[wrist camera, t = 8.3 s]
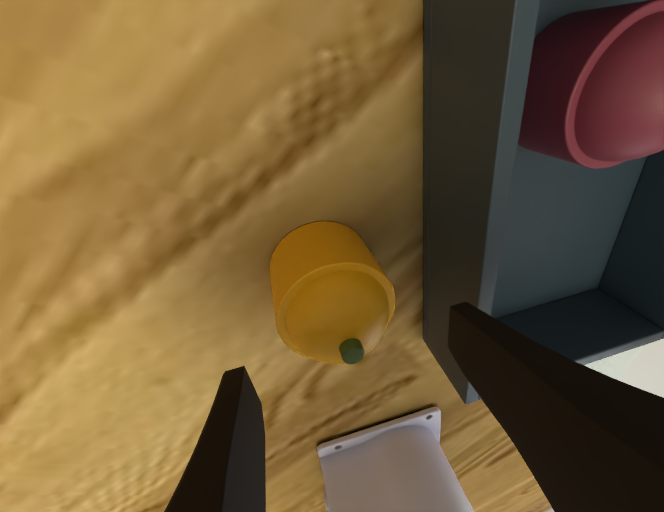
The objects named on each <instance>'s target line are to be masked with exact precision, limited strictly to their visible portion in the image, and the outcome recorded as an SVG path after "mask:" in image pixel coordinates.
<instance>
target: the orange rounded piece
mask: <svg viewBox="0 0 664 512" xmlns="http://www.w3.org/2000/svg"><path fill="white" fill-rule="evenodd" d="M270 280H271V288H272V296H273V304H274V312H275V320H276V326H277V331H278V333H279V335H280V337H281V339H282V340H283V342H284V343H285V344H286V345H287V346H288V347H289V348H290V349H292V350H293V351H295V352H297V353H298V354H301V355H303V356H306V357H310V358H312V359H314V360H317V361H319V362H323V363H327V364H345V363H347V364H355V363H357V362H359V361H361V360H362V359H363V357H364V356H365V355H367V354H368V353H369V352H370V351H372V350H373V349H374V348H375V347H376V345H377V344H378V343H379V341H380V340H381V338H382V337H383V335H384V333H385V330H386V328H387V326H388V325H389V323H390V321H391V319H392V317H393V314H394V311H395V305H396V297H395V291H394V288H393V286H392V284H391V282H390V280H389V279H388V277H387V276H386V274H385V273H384V271H383V270H382V268H381V267H380V265H379V264H378V262H377V261H376V259H375V258H374V257H373V255H372V254H371V252H370V251H369V249H368V248H367V246H366V245H365V243H364V242H363V240H362V239H361V238H360V236H359V235H358V234H357V233H356V232H355V231H353V230H352V229H351V228H349V227H347V226H345V225H342V224H339V223H335V222H327V221H322V222H314V223H309V224H306V225H303V226H301V227H299V228H297V229H295V230H293V231H292V232H290V233H289V234H288V235H287V236H285V237H284V238H283V239H282V240H281V242H280V243H279V244H278V245H277V247H276V249H275V250H274V252H273V255H272V257H271V261H270Z"/></svg>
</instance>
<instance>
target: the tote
mask: <svg viewBox="0 0 664 512" xmlns="http://www.w3.org/2000/svg"><path fill="white" fill-rule="evenodd" d="M642 1H648V0H424V244H423V340H424V341H425V343H426V344H427V346H428V348H429V349H430V351H431V352H432V354H433V355H434V357H435V359H436V360H437V362H438V363H439V365H440V366H441V368H442V369H443V371H444V372H445V374H446V375H447V377H448V379H449V380H450V382H451V383H452V385H453V386H454V388H455V389H456V391H457V392H458V394H459V395H460V397H461V398H462V400H463V402H464V403H465V404H468V403H471V402H475V401H477V400H480V399H481V398H480V396H479V395H478V394H477V392H476V391H475V389H474V388H473V387H472V385H471V384H470V383H469V381H468V380H467V378H466V377H465V376H464V374H463V373H462V371H461V369H460V368H459V366H458V364H457V363H456V361H455V359H454V357H453V355H452V354H451V352H450V350H449V348H448V330H449V312H450V306H452V305H455V304H459V303H462V302H468V303H470V304H471V305H473V306H475V307H477V308H478V309H480V310H482V311H483V312H485V313H487V314H488V315H490V316H492V317H493V318H495V319H497V320H498V321H500V322H502V323H504V324H505V325H507V326H509V327H510V328H512V329H514V330H516V331H517V332H519V333H521V334H523V335H525V336H526V337H528V338H530V339H532V340H534V341H536V342H537V343H539V344H541V345H543V346H545V347H547V348H549V349H551V350H553V351H555V352H557V353H559V354H561V355H563V356H565V357H567V358H569V359H571V360H573V361H575V362H577V363H579V364H581V365H585V364H588V363H591V362H594V361H597V360H600V359H603V358H606V357H609V356H612V355H615V354H618V353H621V352H624V351H627V350H630V349H633V348H636V347H639V346H642V345H645V344H648V343H651V342H654V341H657V340H660V339H663V338H664V150H662V151H660V152H657V153H654V154H651V155H648V156H645V157H642V158H637V159H632V160H627V161H624V162H622V163H620V164H618V165H615V166H611V167H607V168H598V169H594V168H587V167H584V166H581V165H577V164H574V163H571V162H567V161H564V160H561V159H558V158H554V157H551V156H548V155H544V154H541V153H538V152H535V151H531V150H528V149H525V148H524V147H522V146H520V145H519V144H518V139H519V133H520V127H521V120H522V114H523V108H524V101H525V95H526V88H527V82H528V76H529V69H530V63H531V57H532V50H533V44H534V39H535V38H536V36H537V35H539V34H540V33H541V32H542V31H543V30H544V29H545V28H546V27H548V26H549V25H550V24H551V23H553V22H554V21H556V20H558V19H559V18H561V17H563V16H565V15H567V14H570V13H574V12H577V11H583V10H590V9H596V8H603V7H609V6H616V5H622V4H629V3H635V2H642Z"/></svg>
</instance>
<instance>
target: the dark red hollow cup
mask: <svg viewBox="0 0 664 512" xmlns="http://www.w3.org/2000/svg"><path fill="white" fill-rule="evenodd" d="M518 144H519V145H520V146H522V147H524V148H525V149H528V150H531V151H535V152H538V153H541V154H544V155H548V156H551V157H554V158H558V159H561V160H564V161H567V162H571V163H574V164H577V165H581V166H584V167H587V168H594V169H598V168H607V167H611V166H615V165H618V164H620V163H622V162H624V161H627V160H632V159H637V158H642V157H645V156H648V155H651V154H654V153H657V152H660V151H662V150H664V0H648V1H642V2H635V3H629V4H622V5H616V6H609V7H603V8H596V9H590V10H583V11H577V12H574V13H570V14H567V15H565V16H563V17H561V18H559V19H558V20H556V21H554V22H553V23H551V24H550V25H549V26H548V27H546V28H545V29H544V30H543V31H542V32H541V33H540V34H539V35H537V36H536V38H535V39H534V44H533V50H532V57H531V63H530V69H529V76H528V82H527V88H526V95H525V101H524V108H523V114H522V120H521V127H520V133H519V139H518Z"/></svg>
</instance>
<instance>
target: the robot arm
mask: <svg viewBox="0 0 664 512" xmlns="http://www.w3.org/2000/svg"><path fill="white" fill-rule="evenodd" d="M448 348H449V350H450V352H451V354H452V355H453V357H454V359H455V361H456V363H457V364H458V366H459V368H460V369H461V371H462V373H463V374H464V376H465V377H466V378H467V380H468V381H469V383H470V384H471V385H472V387H473V388H474V389H475V391H476V392H477V394H478V395H479V396H480V398H481V399H482V400H483V402H484V403H485V404H486V406H487V407H488V408H489V410H490V411H491V412H492V414H493V415H494V417H495V418H496V419H497V421H498V422H499V423H500V425H501V426H502V427H503V429H504V430H505V431H506V433H507V434H508V436H509V437H510V439H511V440H512V442H513V443H514V445H515V446H516V448H517V449H518V451H519V453H520V454H521V456H522V458H523V459H524V461H525V462H526V464H527V466H528V467H529V469H530V471H531V472H532V474H533V475H534V477H535V479H536V481H537V482H538V484H539V486H540V487H541V489H542V491H543V493H544V494H545V496H546V498H547V499H548V501H549V503H550V504H551V506H552V508H553V510H554V511H555V512H664V398H662V397H660V396H657V395H654V394H652V393H649V392H647V391H644V390H641V389H639V388H636V387H633V386H631V385H628V384H626V383H623V382H621V381H618V380H616V379H613V378H611V377H609V376H606V375H604V374H602V373H600V372H597V371H595V370H593V369H590V368H588V367H586V366H584V365H581V364H579V363H577V362H575V361H573V360H571V359H569V358H567V357H565V356H563V355H561V354H559V353H557V352H555V351H553V350H551V349H549V348H547V347H545V346H543V345H541V344H539V343H537V342H536V341H534V340H532V339H530V338H528V337H526V336H525V335H523V334H521V333H519V332H517V331H516V330H514V329H512V328H510V327H509V326H507V325H505V324H504V323H502V322H500V321H498V320H497V319H495V318H493V317H492V316H490V315H488V314H487V313H485V312H483V311H482V310H480V309H478V308H477V307H475V306H473V305H471V304H470V303H468V302H462V303H459V304H455V305H452V306H450V312H449V330H448ZM440 424H441V411H440V409H439V408H438V407H431V408H428V409H425V410H422V411H419V412H416V413H413V414H410V415H407V416H404V417H401V418H398V419H395V420H392V421H389V422H386V423H382V424H379V425H376V426H373V427H370V428H367V429H364V430H361V431H358V432H355V433H352V434H349V435H346V436H343V437H340V438H337V439H334V440H331V441H328V442H325V443H322V444H320V445H319V446H318V447H317V452H318V456H319V459H320V464H321V469H322V475H323V480H324V485H325V489H323V494H324V500H325V505H326V509H327V512H474V510H473V508H472V506H471V504H470V502H469V500H468V499H467V497H466V495H465V493H464V491H463V489H462V487H461V485H460V483H459V481H458V479H457V477H456V475H455V473H454V471H453V469H452V467H451V465H450V464H449V462H448V460H447V458H446V456H445V454H444V452H443V450H442V448H441V446H440V444H439V443H440ZM164 512H266V492H265V430H264V421H263V412H262V404H261V401H260V399H259V397H258V395H257V393H256V391H255V388H254V386H253V384H252V382H251V380H250V377H249V375H248V373H247V371H246V369H245V367H244V366H242V367H239V368H235V369H232V370H229V371H225V373H224V374H223V376H222V379H221V382H220V385H219V388H218V391H217V394H216V397H215V400H214V402H213V405H212V408H211V410H210V413H209V416H208V418H207V421H206V423H205V425H204V428H203V430H202V433H201V435H200V438H199V440H198V443H197V445H196V447H195V449H194V452H193V454H192V456H191V458H190V460H189V462H188V465H187V467H186V469H185V471H184V473H183V475H182V478H181V480H180V482H179V484H178V486H177V488H176V490H175V492H174V494H173V496H172V498H171V500H170V502H169V504H168V506H167V507H166V509H165V511H164Z"/></svg>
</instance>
